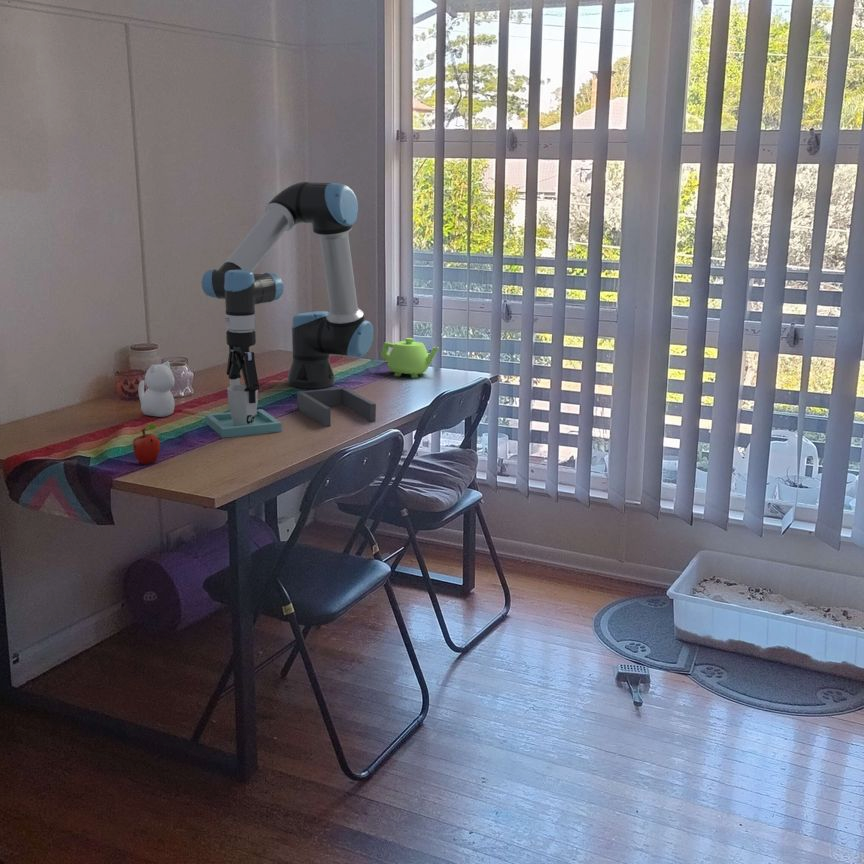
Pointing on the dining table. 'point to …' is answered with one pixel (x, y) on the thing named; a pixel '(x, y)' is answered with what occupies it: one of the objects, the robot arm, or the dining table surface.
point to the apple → (146, 446)
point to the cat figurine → (157, 391)
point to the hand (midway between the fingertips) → (243, 408)
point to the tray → (227, 428)
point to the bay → (334, 404)
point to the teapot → (408, 357)
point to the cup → (239, 405)
